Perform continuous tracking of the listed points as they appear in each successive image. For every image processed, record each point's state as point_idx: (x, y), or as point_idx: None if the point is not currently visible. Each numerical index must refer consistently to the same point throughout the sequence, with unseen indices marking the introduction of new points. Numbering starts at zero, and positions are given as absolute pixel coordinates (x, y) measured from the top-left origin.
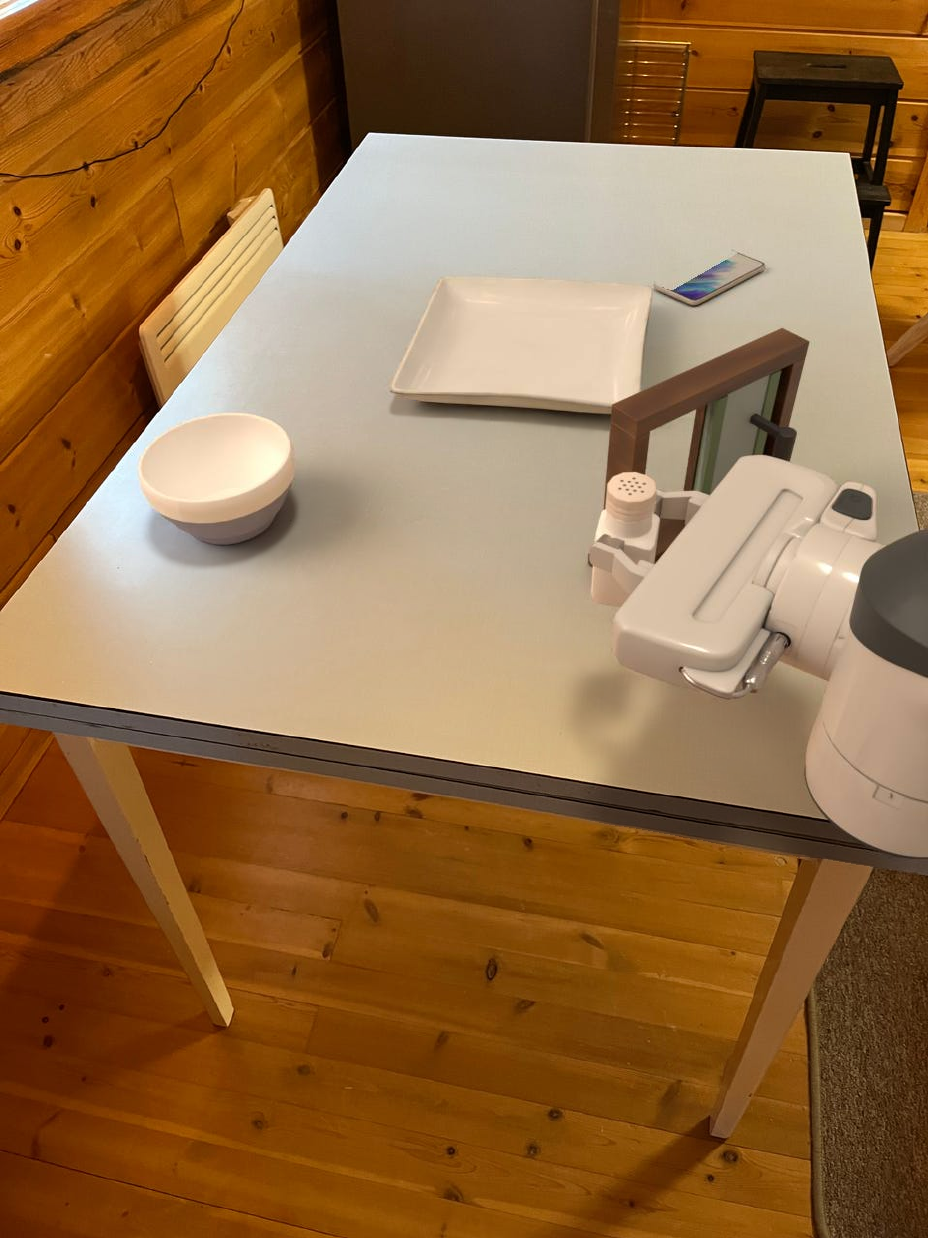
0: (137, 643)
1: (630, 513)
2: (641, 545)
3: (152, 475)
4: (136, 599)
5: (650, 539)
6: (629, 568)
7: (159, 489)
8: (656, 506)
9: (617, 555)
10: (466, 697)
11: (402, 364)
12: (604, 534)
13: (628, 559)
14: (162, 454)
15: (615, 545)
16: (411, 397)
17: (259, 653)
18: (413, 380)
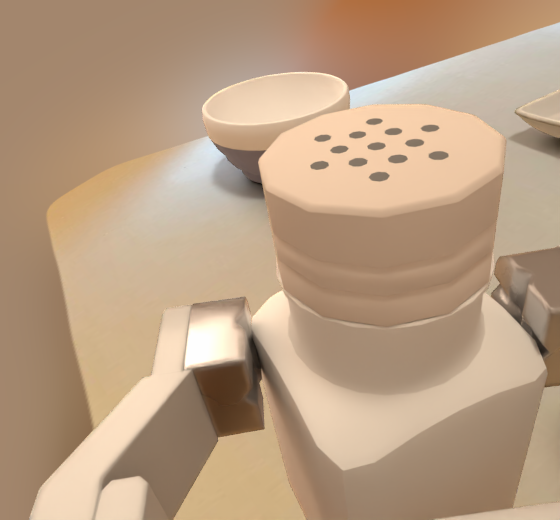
0: (120, 217)
1: (285, 255)
2: (318, 423)
3: (241, 105)
4: (162, 190)
5: (377, 428)
6: (62, 473)
7: (241, 118)
8: (551, 325)
9: (139, 387)
10: (216, 454)
11: (552, 93)
12: (243, 299)
13: (126, 433)
14: (262, 93)
15: (202, 351)
16: (535, 125)
17: (156, 270)
18: (556, 113)
